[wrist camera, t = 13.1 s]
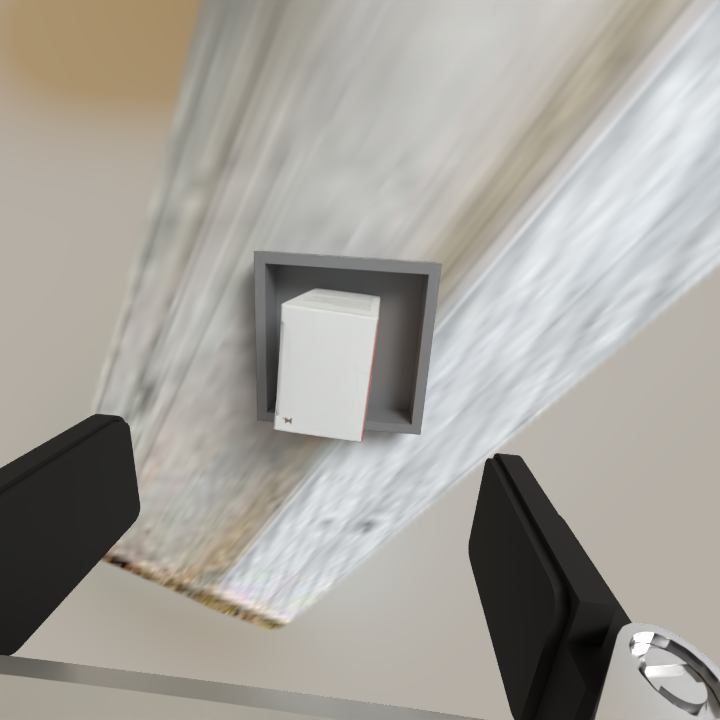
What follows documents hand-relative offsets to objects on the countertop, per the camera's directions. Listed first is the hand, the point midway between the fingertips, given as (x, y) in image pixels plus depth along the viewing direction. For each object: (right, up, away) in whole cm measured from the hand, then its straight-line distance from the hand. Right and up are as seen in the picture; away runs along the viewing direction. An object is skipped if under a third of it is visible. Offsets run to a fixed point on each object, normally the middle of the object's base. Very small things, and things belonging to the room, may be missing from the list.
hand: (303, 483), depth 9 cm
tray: (0, +5, +22) cm, 22 cm away
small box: (0, +5, +22) cm, 22 cm away
